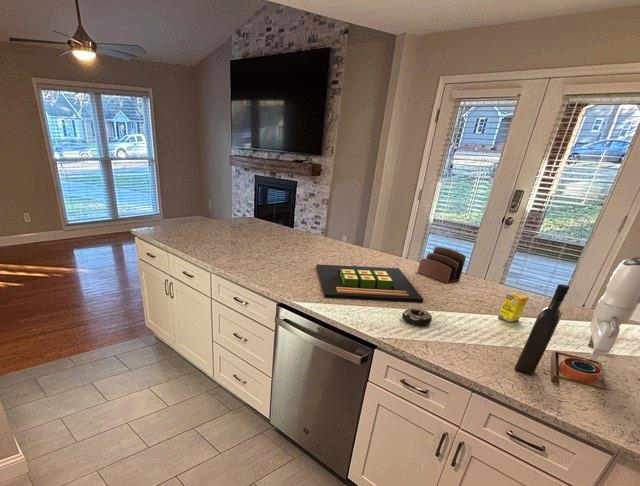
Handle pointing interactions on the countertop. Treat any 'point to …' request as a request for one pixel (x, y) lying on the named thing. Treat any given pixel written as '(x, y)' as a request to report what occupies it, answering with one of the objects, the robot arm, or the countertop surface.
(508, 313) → the supplement box
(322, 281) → the sushi set
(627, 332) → the countertop surface
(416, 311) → the donut
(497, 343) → the countertop surface
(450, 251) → the letter holder
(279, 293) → the countertop surface
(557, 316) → the wine bottle
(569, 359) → the big bowl
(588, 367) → the small bowl
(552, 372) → the tray
